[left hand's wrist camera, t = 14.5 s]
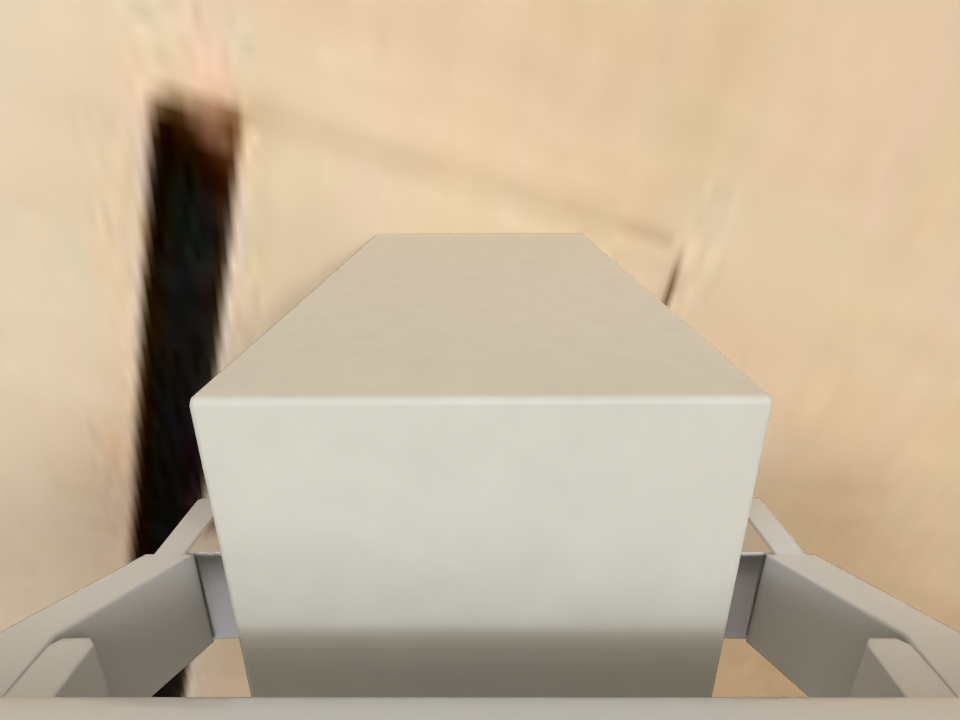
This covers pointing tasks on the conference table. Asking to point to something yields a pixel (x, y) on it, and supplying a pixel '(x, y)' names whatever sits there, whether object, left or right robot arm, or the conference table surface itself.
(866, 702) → the left robot arm
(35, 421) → the conference table surface
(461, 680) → the box
